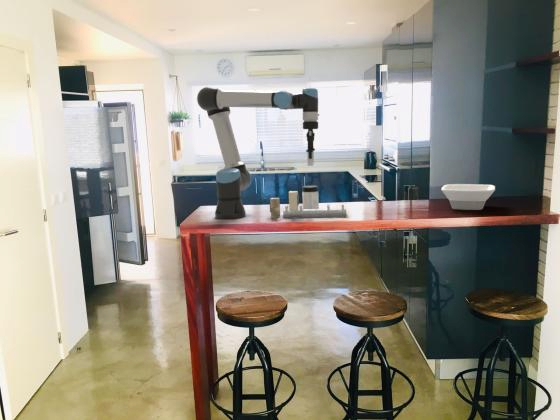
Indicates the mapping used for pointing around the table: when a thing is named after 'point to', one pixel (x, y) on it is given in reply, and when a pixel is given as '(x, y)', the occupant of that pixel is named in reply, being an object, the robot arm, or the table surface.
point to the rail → (309, 213)
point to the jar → (310, 197)
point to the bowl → (468, 195)
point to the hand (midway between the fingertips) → (310, 164)
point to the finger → (275, 207)
